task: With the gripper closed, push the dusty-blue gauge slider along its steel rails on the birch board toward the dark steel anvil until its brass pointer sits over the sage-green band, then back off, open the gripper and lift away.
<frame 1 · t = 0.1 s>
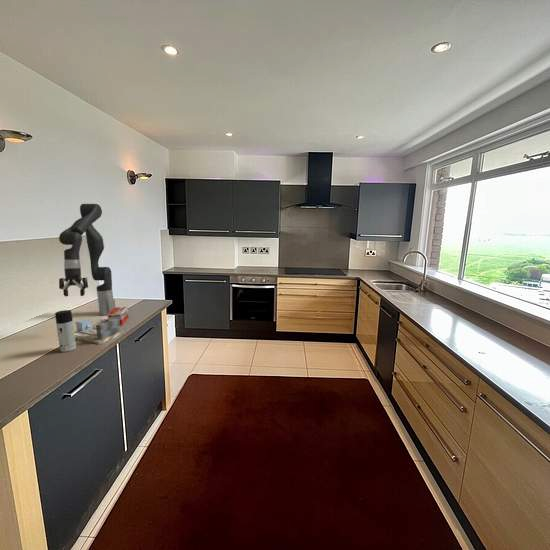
hand: (74, 296, 164), 22 cm above the countertop, tool pointing down, fingers open, 8 cm apart
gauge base: (96, 335, 165), on the countertop
spray can: (68, 349, 148), on the countertop
gauge slider: (81, 327, 166), point 5 cm above the countertop, slide at 0.0 cm
medicine box: (119, 322, 187), on the countertop
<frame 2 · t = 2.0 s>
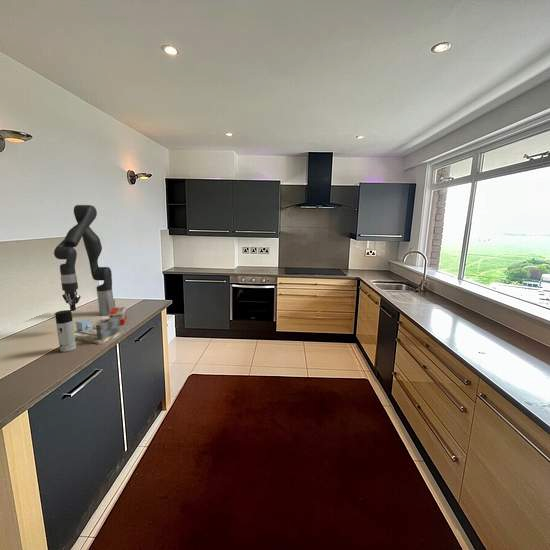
hand: (73, 310, 169), 13 cm above the countertop, tool pointing down, fingers closed
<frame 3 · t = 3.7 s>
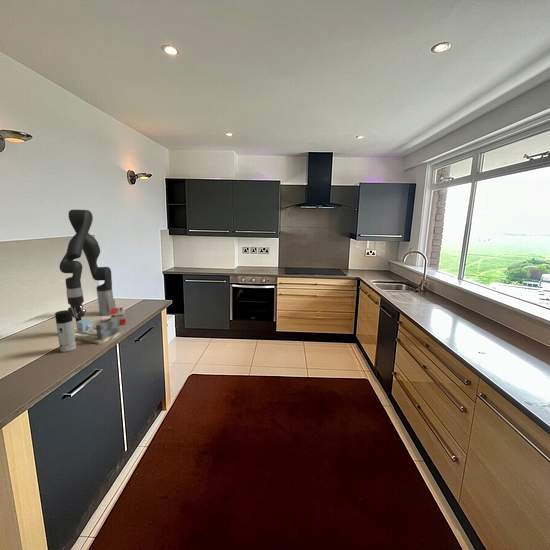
hand: (79, 323, 169), 5 cm above the countertop, tool pointing down, fingers closed
gauge slider: (82, 327, 165), point 5 cm above the countertop, slide at 0.4 cm, touching gripper
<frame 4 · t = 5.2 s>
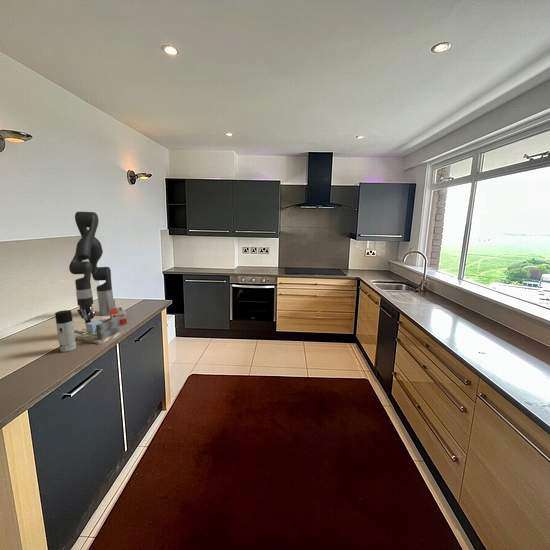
hand: (88, 325, 166), 5 cm above the countertop, tool pointing down, fingers closed
gauge slider: (91, 329, 162), point 5 cm above the countertop, slide at 8.6 cm, touching gripper
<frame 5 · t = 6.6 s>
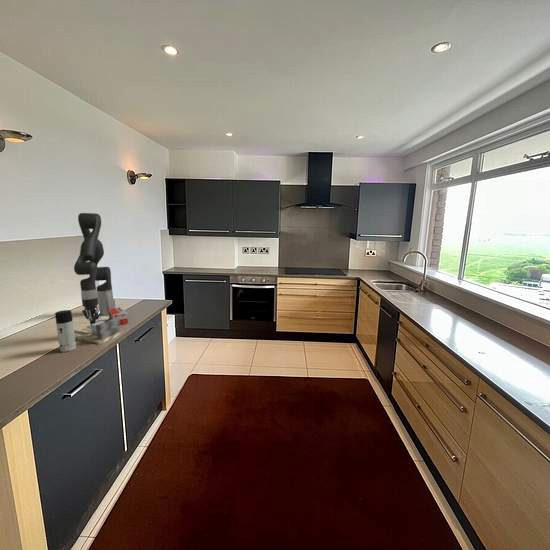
hand: (93, 326, 165), 5 cm above the countertop, tool pointing down, fingers closed
gauge slider: (96, 329, 161), point 5 cm above the countertop, slide at 12.5 cm, touching gripper
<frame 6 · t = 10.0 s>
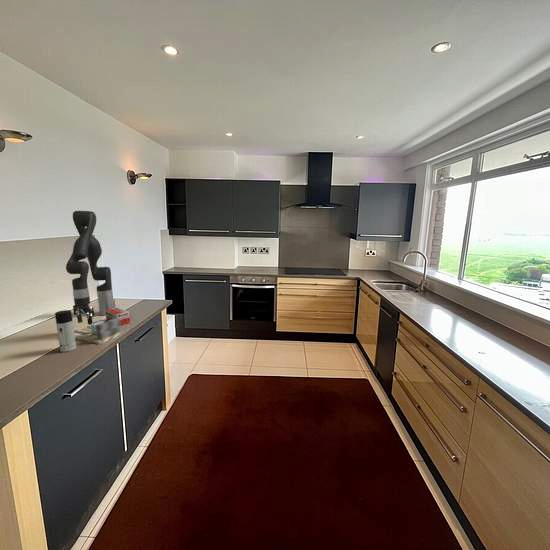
hand: (85, 323, 167), 6 cm above the countertop, tool pointing down, fingers open, 8 cm apart
gauge slider: (96, 329, 161), point 5 cm above the countertop, slide at 12.6 cm
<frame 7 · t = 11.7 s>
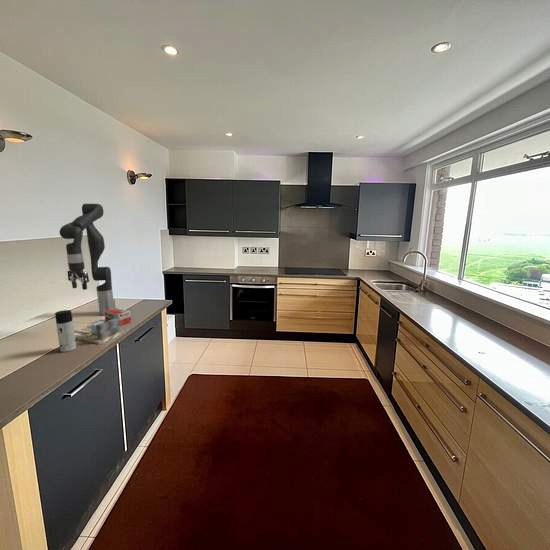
hand: (79, 288, 169), 25 cm above the countertop, tool pointing down, fingers open, 8 cm apart
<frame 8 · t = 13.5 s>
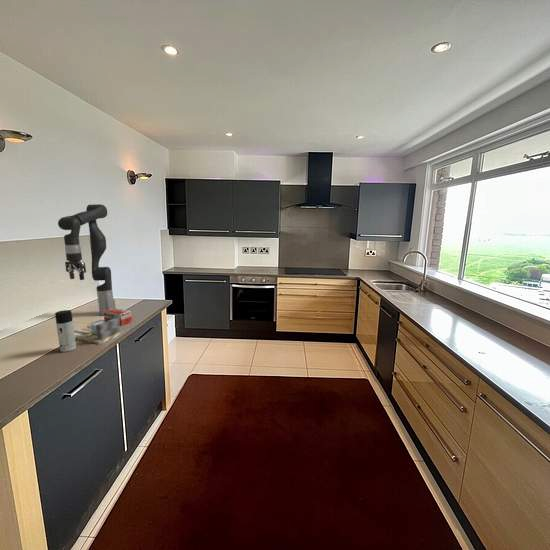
hand: (77, 279, 172), 30 cm above the countertop, tool pointing down, fingers open, 8 cm apart
at the end: gauge slider slide at 12.6 cm; spray can moved 0.2 cm from its start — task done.
